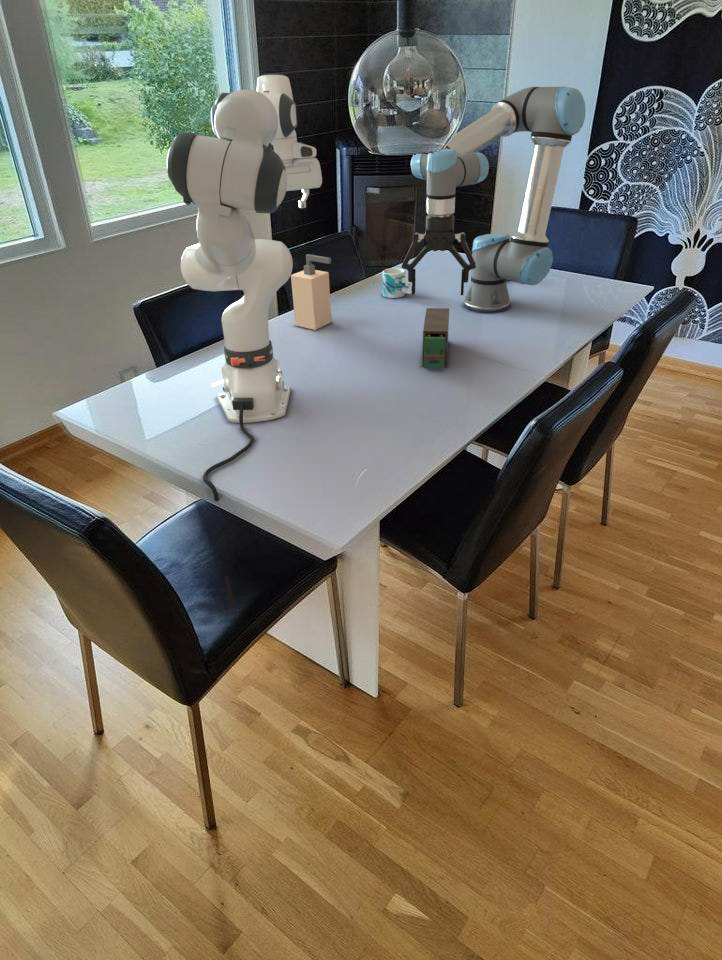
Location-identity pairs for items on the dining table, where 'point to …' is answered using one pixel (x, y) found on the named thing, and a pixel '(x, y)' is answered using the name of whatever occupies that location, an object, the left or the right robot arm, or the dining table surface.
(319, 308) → the soap dispenser
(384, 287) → the mug
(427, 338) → the drawer
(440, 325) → the cabinet
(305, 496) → the dining table surface
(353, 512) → the dining table surface
